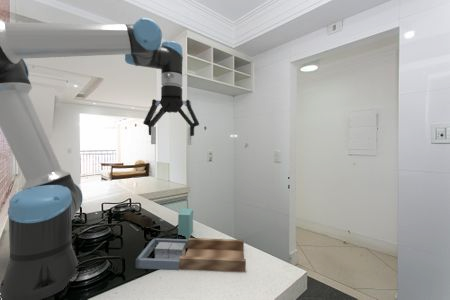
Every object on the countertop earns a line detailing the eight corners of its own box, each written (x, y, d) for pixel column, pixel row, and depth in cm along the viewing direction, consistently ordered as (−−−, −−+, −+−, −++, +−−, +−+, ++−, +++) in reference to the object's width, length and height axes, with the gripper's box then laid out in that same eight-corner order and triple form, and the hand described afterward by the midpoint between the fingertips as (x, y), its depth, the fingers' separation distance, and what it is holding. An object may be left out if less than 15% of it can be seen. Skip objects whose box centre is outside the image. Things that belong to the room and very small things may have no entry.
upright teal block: (177, 242, 76) (178, 214, 76) (182, 233, 83) (182, 208, 82) (189, 242, 76) (189, 215, 75) (192, 234, 83) (193, 208, 82)
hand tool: (123, 220, 96) (122, 210, 95) (131, 218, 99) (131, 208, 99) (146, 232, 84) (146, 221, 84) (155, 229, 87) (155, 218, 87)
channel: (179, 273, 58) (179, 258, 58) (188, 250, 70) (188, 237, 70) (245, 276, 57) (245, 261, 57) (243, 252, 70) (243, 239, 69)
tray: (135, 272, 58) (135, 259, 58) (153, 248, 71) (153, 238, 71) (178, 274, 58) (179, 261, 57) (189, 249, 71) (189, 239, 70)
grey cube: (154, 261, 62) (154, 248, 62) (159, 254, 66) (159, 242, 66) (168, 262, 62) (168, 249, 62) (172, 255, 66) (172, 242, 66)
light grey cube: (168, 262, 62) (168, 249, 62) (172, 255, 66) (172, 242, 66) (182, 263, 62) (182, 249, 62) (185, 255, 66) (185, 243, 66)
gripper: (133, 83, 75) (133, 144, 76) (204, 84, 74) (203, 145, 75) (142, 89, 82) (142, 143, 83) (206, 89, 82) (206, 145, 82)
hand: (171, 144), depth 79 cm, fingers open, 13 cm apart
